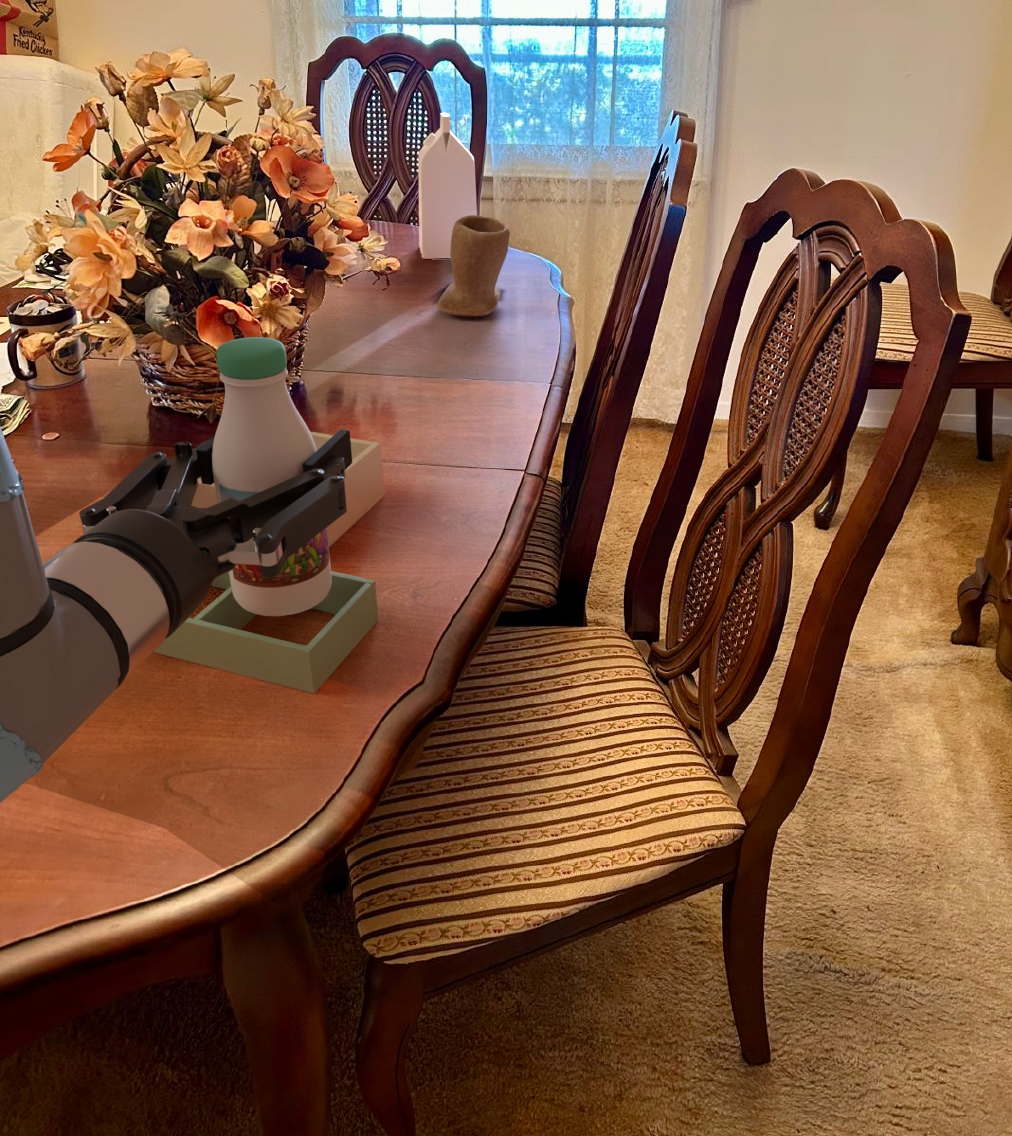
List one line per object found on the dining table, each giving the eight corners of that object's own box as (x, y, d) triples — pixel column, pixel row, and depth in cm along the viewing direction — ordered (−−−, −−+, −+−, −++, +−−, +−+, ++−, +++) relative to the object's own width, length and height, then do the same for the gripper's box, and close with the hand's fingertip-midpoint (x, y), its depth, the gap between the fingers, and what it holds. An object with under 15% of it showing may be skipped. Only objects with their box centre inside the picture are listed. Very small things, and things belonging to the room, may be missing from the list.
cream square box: (183, 534, 91) (172, 478, 88) (265, 474, 103) (258, 422, 100) (313, 562, 87) (307, 504, 84) (384, 496, 99) (381, 442, 96)
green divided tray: (94, 637, 76) (83, 596, 74) (176, 574, 85) (168, 535, 83) (314, 694, 70) (309, 651, 68) (378, 620, 79) (375, 580, 77)
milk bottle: (212, 597, 73) (166, 349, 62) (285, 556, 78) (254, 321, 68) (281, 631, 69) (245, 372, 59) (353, 585, 75) (331, 341, 64)
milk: (479, 258, 190) (478, 117, 177) (422, 259, 189) (417, 118, 175) (472, 245, 200) (471, 111, 187) (419, 246, 199) (413, 111, 186)
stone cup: (502, 324, 152) (503, 227, 144) (431, 319, 153) (428, 224, 145) (516, 299, 165) (517, 209, 157) (450, 295, 166) (448, 206, 158)
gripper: (-16, 620, 57) (186, 467, 76) (287, 677, 53) (423, 500, 72) (-53, 512, 54) (170, 379, 72) (271, 565, 49) (419, 408, 68)
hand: (296, 439), depth 72 cm, fingers closed on milk bottle, 8 cm apart
